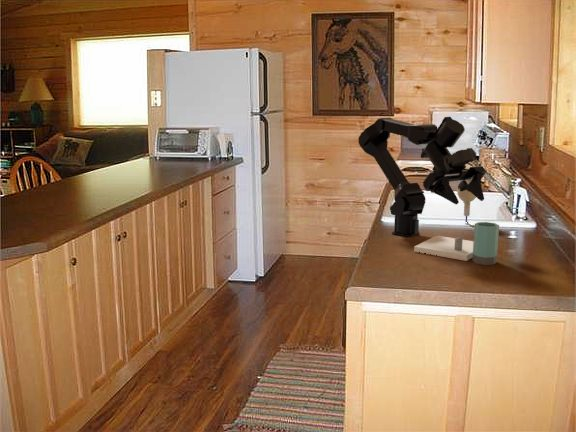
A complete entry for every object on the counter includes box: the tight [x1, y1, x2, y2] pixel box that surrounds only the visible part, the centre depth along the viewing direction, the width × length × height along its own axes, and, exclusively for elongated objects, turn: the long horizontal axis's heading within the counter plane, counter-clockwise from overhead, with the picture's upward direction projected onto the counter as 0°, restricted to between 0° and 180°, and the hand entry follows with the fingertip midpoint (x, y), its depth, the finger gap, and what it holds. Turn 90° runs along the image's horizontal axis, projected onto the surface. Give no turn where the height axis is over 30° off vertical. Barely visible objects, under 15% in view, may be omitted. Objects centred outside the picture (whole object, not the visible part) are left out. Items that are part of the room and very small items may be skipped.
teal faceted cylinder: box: [471, 221, 500, 266], centre depth 160 cm, size 6×6×10 cm
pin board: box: [413, 235, 474, 262], centre depth 172 cm, size 15×15×5 cm
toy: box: [456, 181, 477, 224], centre depth 202 cm, size 9×7×15 cm
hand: (470, 201), depth 165 cm, fingers open, 9 cm apart
